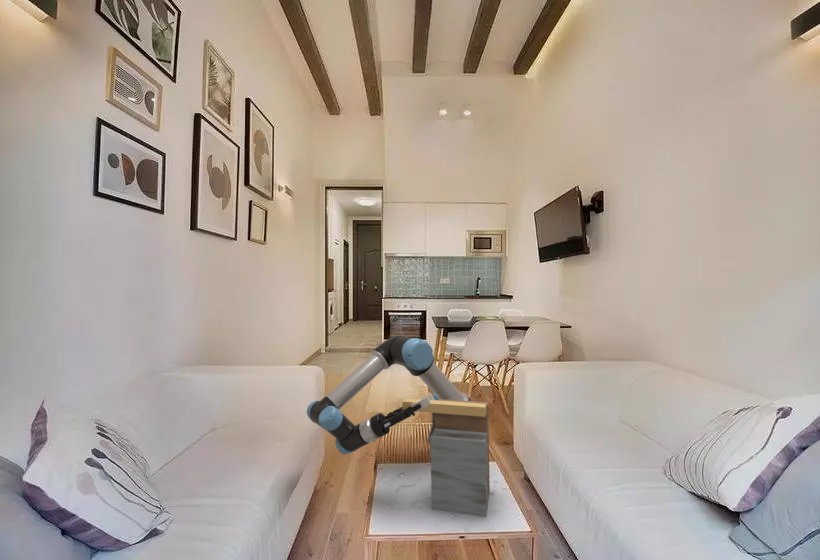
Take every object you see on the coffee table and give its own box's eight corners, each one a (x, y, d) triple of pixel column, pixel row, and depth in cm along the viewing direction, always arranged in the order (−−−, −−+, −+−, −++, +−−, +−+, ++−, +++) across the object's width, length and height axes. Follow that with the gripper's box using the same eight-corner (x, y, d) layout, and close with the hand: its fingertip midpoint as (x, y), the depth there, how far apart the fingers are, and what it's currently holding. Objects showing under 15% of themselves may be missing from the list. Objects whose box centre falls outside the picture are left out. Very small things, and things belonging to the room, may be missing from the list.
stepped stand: (440, 484, 149) (438, 399, 149) (489, 490, 145) (488, 402, 144) (431, 509, 134) (429, 413, 134) (486, 516, 129) (484, 417, 129)
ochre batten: (405, 406, 142) (405, 398, 142) (486, 412, 134) (485, 403, 134) (402, 410, 138) (402, 401, 138) (485, 416, 131) (485, 407, 131)
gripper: (387, 428, 150) (440, 400, 145) (372, 447, 134) (431, 416, 129) (378, 410, 151) (430, 382, 146) (361, 426, 135) (419, 395, 129)
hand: (430, 398), depth 137 cm, fingers closed on ochre batten, 4 cm apart
